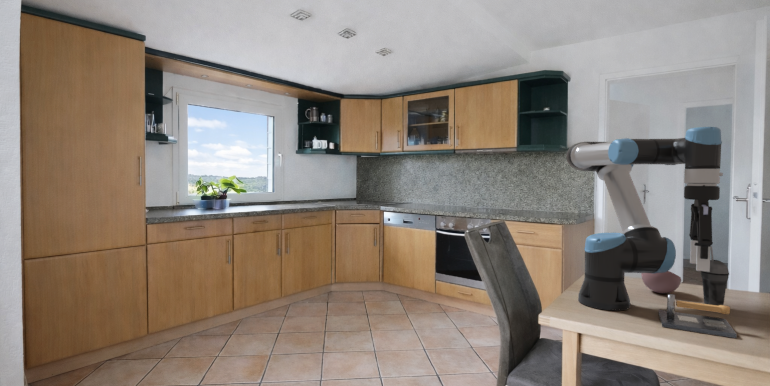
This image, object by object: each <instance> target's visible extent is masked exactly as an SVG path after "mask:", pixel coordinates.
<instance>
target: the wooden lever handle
mask: <svg viewBox="0 0 770 386" xmlns="http://www.w3.org/2000/svg"><path fill="white" fill-rule="evenodd" d="M675 307H677V308H684V309H689V310H690V309H692V310H700V311H707V312H712V313H713V312H714V313H720V314H722V315H730V314H731V307H730V306H728V305H719V306H717V305H710V304H704V303H701V302H693V301H686V300H685V301H684V300H676V299H675Z"/></svg>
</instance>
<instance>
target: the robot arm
mask: <svg viewBox="0 0 770 386" xmlns="http://www.w3.org/2000/svg"><path fill="white" fill-rule="evenodd" d="M722 143H723V141H722V131H721V129H720V127H717V126H699V127H690V128H688V129H687V130H686V131H685V136H684V137H680V138H629V137H628V138H627V137H625V138H619V139H618V138H617V139H613V140H612V141H580V142H577V143H575V144H572V145H571V146H570V147H569V148H568V150H567V152H566V162H567V163H568V166H570V167H571V168H573V169H575V170H578V171H580V172H596V174H597V177H598V179H599V180H601V181H603V182H604V184H605V186H606V189H607V191H608V195H609V197H610V200H611V203H612V205H613V208H614V211H615V214H616V216H617V219H618V222H619V225H620V227H621V230H622V233H621V232H600V233H594V234H590V235H589V236H588V235H587V237H586V238H585V243H584V279H583V281H582V284H581V287H580V290H579V291H578V297H577V298H578V302H579V303H580V304H582V305H584V306H587V307H589V308H594V309H599V310H604V311H605V310H606V311H626V310H629V309H630V308H631V298H630V296H629V294H628V290H627V287H626V284H625V274H629V273H630V274H642V273H652V274H655V273H664V272H667V271H670V270H671V269H672V268H673V267H674V265H675V261H676V257H677V256H676V255H677V249H676V246H675V243H674V241H673V240H672V239H670V238H669V237H666V236H662V235H661V233H660V230H659V229H658V227H656V226H654V225H651V222H650V220H649V218H648V216H647V213H646V211H645V208H644V205H643V203H642V201H641V198H640V196H639V193H638V191H637V189H636V186H635V184H634V181H633V180H632V177H631V174H630V173H631V171H632V169H633V167H634V165H665V166H676V165H684V171H683V173H684V176H683V178H684V179H683V183H684V184H686V185H685V186H684V188H683V190H684V191H683V198H684V199H685V200H692V201H693V200H694V202H693V203H691V204H690V212H691V213H690V224H689V225H690V226H689V234H688V235H689V238H690V249H689V251H690V254H689V255H690V256H689V264H693V265H696V266H695V270H696V271H697V272H701V271H707V272H710V260H711V250H710V246H713V243H714V242H713V220H712V219H713V218H712V214H713V213H712V212H713V207H712V206H710V204H709V203H710V202H709V201H717V200H719V199H720V195H721V194H720V192H721V191H720V189H721V187H720V186H719V184H720V183H721V181H720V180H721V178H720V177H722V176H723V175H724V173H723V172H722V171H721V162H722V161H721V159H722Z"/></svg>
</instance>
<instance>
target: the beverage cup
mask: <svg viewBox="0 0 770 386" xmlns="http://www.w3.org/2000/svg"><path fill="white" fill-rule="evenodd" d="M700 275H701V278H702V293H703V304H710V305H717V306H719V305H724V303H725V297H726V291H727V290H726V289H727V284H728V283H727V282H728V279H729V276H730V271H729V268H728V267H727V265H726V264H725V263H724V262H723V261H721V260H717V259H714V253H713V245H711V246H710V272H707V271H700Z"/></svg>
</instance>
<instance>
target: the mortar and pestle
mask: <svg viewBox="0 0 770 386" xmlns="http://www.w3.org/2000/svg"><path fill="white" fill-rule="evenodd" d="M640 274H641V280H642V282H643V284H644V285H645V286H646V288H648V289H649V290H651V291H652V292H655V293H658V294H671V293H672V292H675V291H676V290H677V289H678V288H679V287H680V285H681V282H682V277H681V276H679V275H677V274H675V273H673V272H671V271H670V270H669V271H667V272H664V273H655V274H652V273H640Z"/></svg>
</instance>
